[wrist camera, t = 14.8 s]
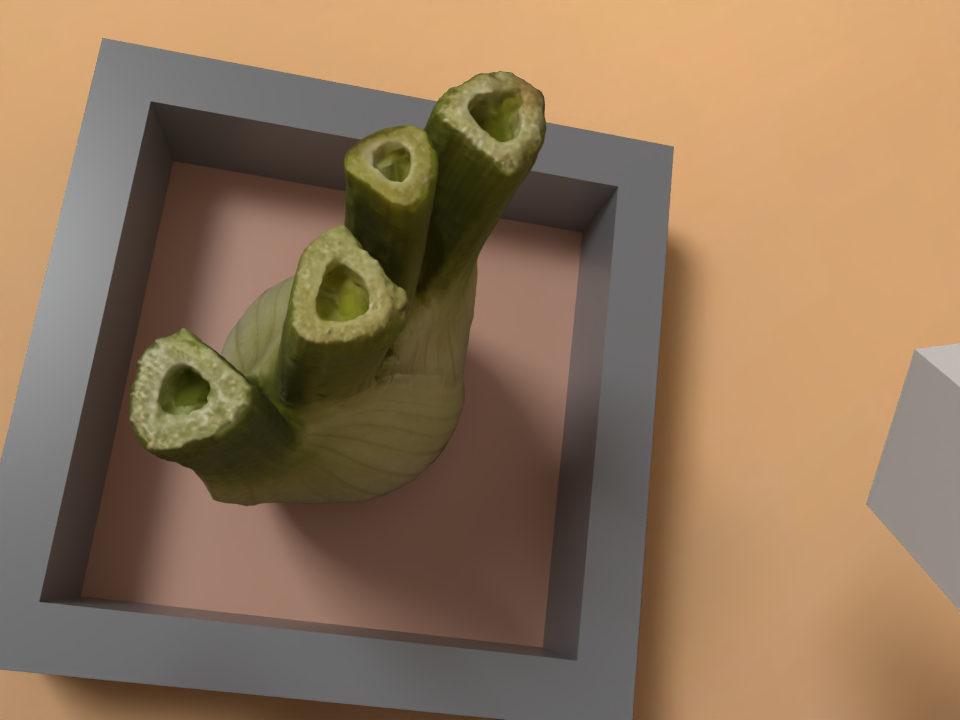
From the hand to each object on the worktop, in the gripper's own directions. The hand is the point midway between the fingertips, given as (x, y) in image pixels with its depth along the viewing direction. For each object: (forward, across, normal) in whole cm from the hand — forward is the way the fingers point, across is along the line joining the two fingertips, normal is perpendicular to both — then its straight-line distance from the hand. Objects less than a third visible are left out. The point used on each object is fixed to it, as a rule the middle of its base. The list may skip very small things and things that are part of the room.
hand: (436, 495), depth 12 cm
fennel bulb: (+9, -1, -5) cm, 10 cm away
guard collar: (+9, 0, -5) cm, 10 cm away
